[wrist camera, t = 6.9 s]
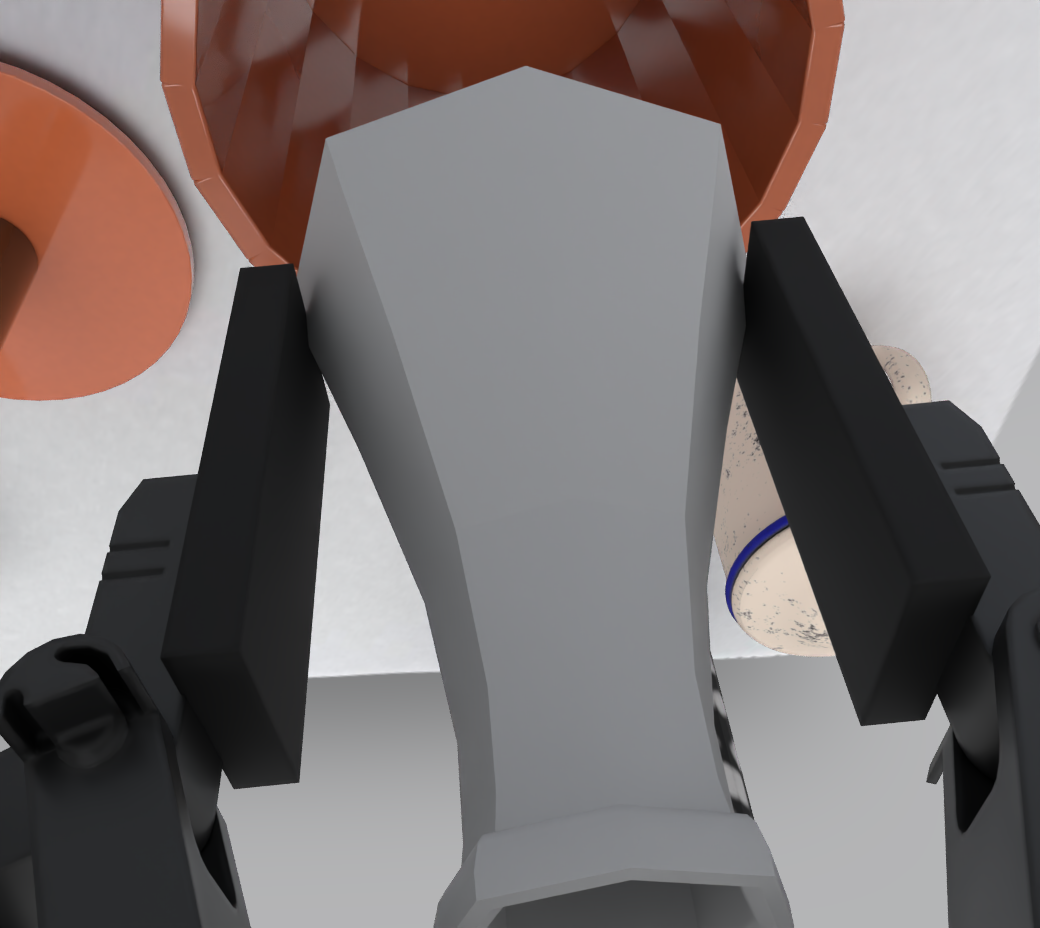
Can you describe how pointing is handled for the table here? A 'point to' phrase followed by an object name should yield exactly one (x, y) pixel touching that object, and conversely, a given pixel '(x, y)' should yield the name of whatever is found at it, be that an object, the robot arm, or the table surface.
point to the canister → (470, 60)
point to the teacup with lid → (778, 530)
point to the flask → (553, 477)
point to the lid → (81, 248)
